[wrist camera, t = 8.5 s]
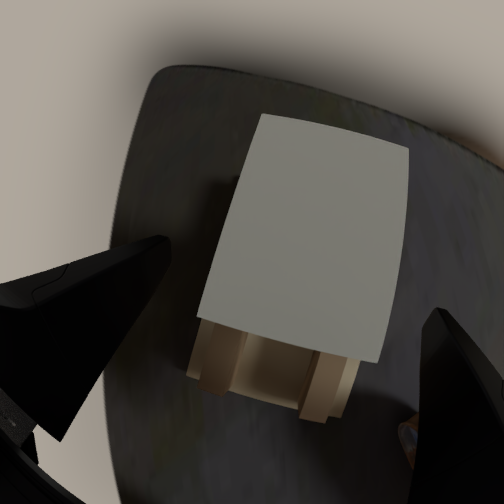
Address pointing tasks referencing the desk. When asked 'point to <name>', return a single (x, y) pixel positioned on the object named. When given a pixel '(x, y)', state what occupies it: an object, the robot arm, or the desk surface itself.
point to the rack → (271, 371)
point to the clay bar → (312, 239)
